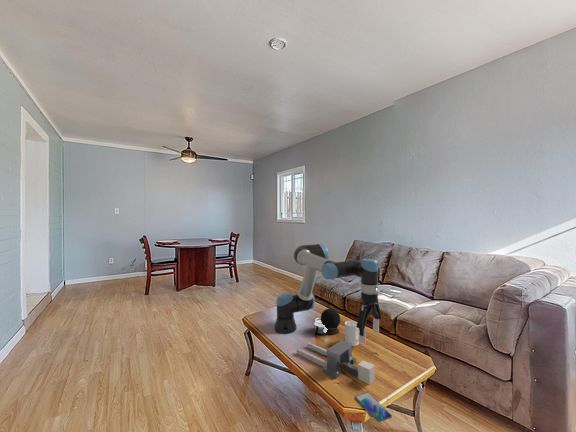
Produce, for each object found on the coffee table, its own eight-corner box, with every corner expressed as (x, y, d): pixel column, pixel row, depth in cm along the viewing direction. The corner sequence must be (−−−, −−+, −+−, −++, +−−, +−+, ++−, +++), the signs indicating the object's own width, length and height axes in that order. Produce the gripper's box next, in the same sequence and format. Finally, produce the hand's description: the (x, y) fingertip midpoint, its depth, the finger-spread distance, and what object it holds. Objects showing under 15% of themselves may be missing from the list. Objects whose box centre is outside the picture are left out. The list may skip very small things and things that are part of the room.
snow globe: (316, 330, 179) (316, 308, 178) (329, 325, 187) (329, 304, 187) (331, 337, 168) (331, 314, 168) (344, 331, 177) (344, 309, 177)
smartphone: (367, 391, 117) (392, 416, 103) (367, 393, 117) (392, 418, 103) (354, 395, 114) (378, 421, 100) (354, 397, 114) (377, 423, 100)
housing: (322, 371, 133) (322, 351, 132) (342, 356, 146) (342, 337, 146) (335, 378, 127) (335, 357, 127) (355, 362, 141) (355, 342, 141)
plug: (340, 370, 134) (340, 356, 134) (345, 366, 137) (345, 352, 137) (369, 384, 122) (369, 369, 122) (374, 379, 126) (374, 365, 126)
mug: (365, 347, 156) (365, 326, 156) (353, 350, 153) (353, 329, 153) (353, 338, 167) (353, 319, 167) (341, 340, 164) (341, 321, 164)
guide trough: (296, 353, 150) (296, 349, 150) (308, 346, 158) (308, 342, 158) (328, 369, 135) (328, 364, 135) (340, 360, 143) (340, 355, 143)
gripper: (363, 300, 113) (364, 349, 113) (388, 288, 131) (388, 330, 131) (348, 296, 118) (348, 343, 118) (373, 285, 136) (374, 325, 136)
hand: (369, 336), depth 125 cm, fingers open, 13 cm apart
